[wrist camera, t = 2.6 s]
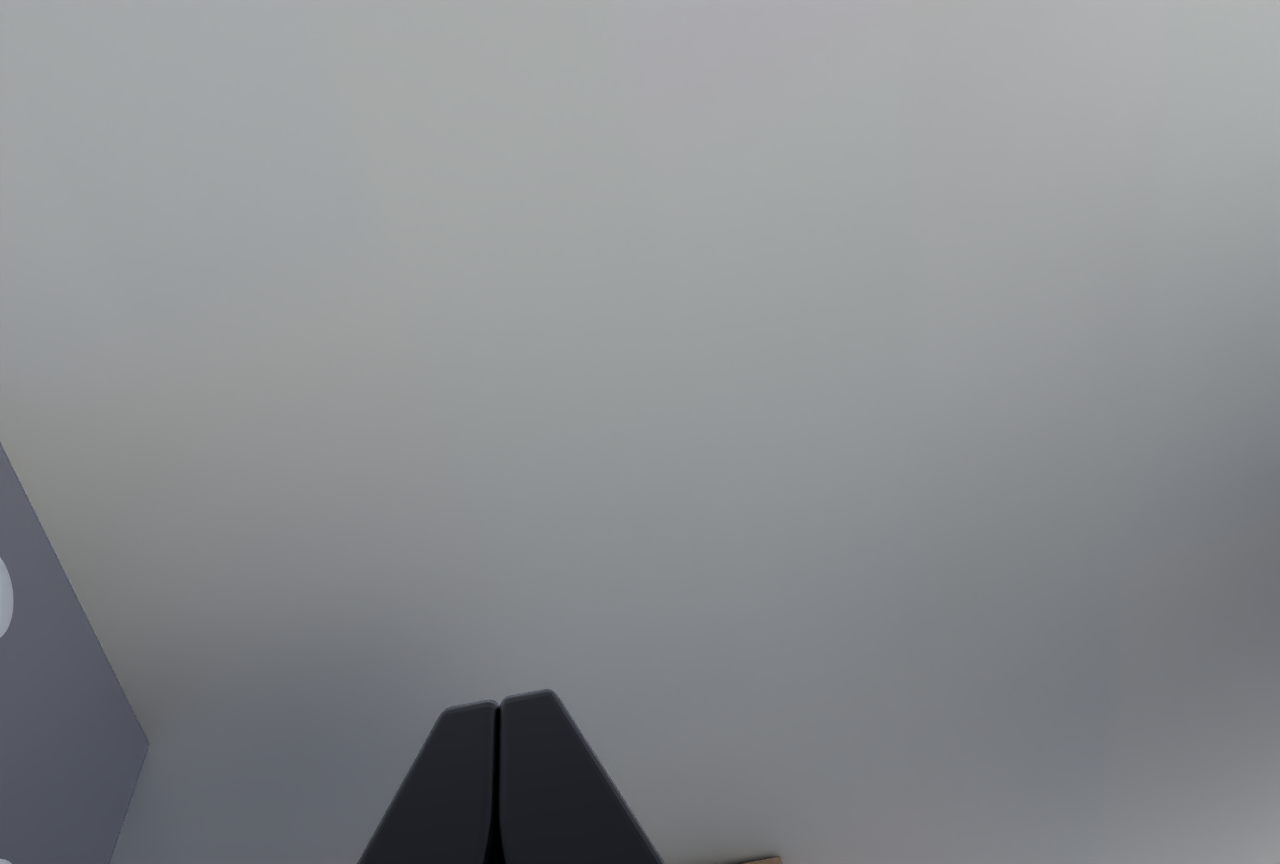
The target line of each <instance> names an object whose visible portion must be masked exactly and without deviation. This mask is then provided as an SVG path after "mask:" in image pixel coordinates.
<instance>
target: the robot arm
mask: <svg viewBox="0 0 1280 864" xmlns="http://www.w3.org/2000/svg"><path fill="white" fill-rule="evenodd" d="M357 864H665V863H664V861H663V860H662V858H661V857H660V855H659V854H658V852H657V850H656V849H655V847H654V846H653V844H652V843H651V841H650V840H649V838H648V836H647V835H646V833H645V832H644V830H643V829H642V827H641V825H640V824H639V822H638V821H637V819H636V818H635V816H634V814H633V813H632V811H631V810H630V808H629V807H628V805H627V803H626V802H625V800H624V799H623V797H622V796H621V794H620V792H619V791H618V789H617V788H616V786H615V785H614V783H613V781H612V780H611V778H610V777H609V775H608V774H607V772H606V770H605V769H604V767H603V766H602V764H601V763H600V761H599V759H598V758H597V756H596V755H595V753H594V752H593V750H592V748H591V747H590V745H589V744H588V742H587V741H586V739H585V737H584V736H583V734H582V733H581V731H580V730H579V728H578V726H577V725H576V723H575V722H574V720H573V719H572V717H571V715H570V714H569V712H568V711H567V709H566V708H565V706H564V704H563V703H562V701H561V700H560V698H559V697H558V695H557V694H556V693H555V692H554V691H552V690H549V689H544V690H539V691H533V692H528V693H522V694H517V695H511V696H508V697H505V698H504V699H503V700H502V702H501V705H499V704H498V703H497V702H496V701H493V700H484V701H479V702H474V703H468V704H463V705H458V706H452V707H449V708H447V709H446V710H444V711H443V712H442V713H441V715H440V716H439V718H438V720H437V721H436V723H435V725H434V727H433V729H432V730H431V732H430V734H429V736H428V738H427V739H426V741H425V743H424V745H423V747H422V748H421V750H420V752H419V754H418V755H417V757H416V759H415V761H414V763H413V764H412V766H411V768H410V770H409V772H408V773H407V775H406V777H405V779H404V781H403V782H402V784H401V786H400V788H399V790H398V791H397V793H396V795H395V797H394V799H393V800H392V802H391V804H390V806H389V808H388V809H387V811H386V813H385V815H384V817H383V818H382V820H381V822H380V824H379V826H378V827H377V829H376V831H375V833H374V835H373V836H372V838H371V840H370V842H369V844H368V845H367V847H366V849H365V851H364V853H363V854H362V856H361V858H360V860H359V861H358V863H357Z"/></svg>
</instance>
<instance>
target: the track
mask: <svg viewBox="0 0 1280 864" xmlns="http://www.w3.org/2000/svg"><path fill="white" fill-rule="evenodd" d="M742 864H782V861H781V858H780V856H779V857H774V858H769V859H763V860H758V861H753V862H748V863H742Z"/></svg>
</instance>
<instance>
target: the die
mask: <svg viewBox="0 0 1280 864" xmlns="http://www.w3.org/2000/svg"><path fill="white" fill-rule="evenodd" d="M148 747H149V742H148V740H147V738H146V736H145V734H144V732H143V730H142V728H141V726H140V724H139V722H138V720H137V718H136V716H135V714H134V712H133V710H132V708H131V706H130V704H129V702H128V700H127V698H126V696H125V694H124V692H123V690H122V688H121V686H120V684H119V682H118V680H117V678H116V676H115V674H114V672H113V670H112V668H111V666H110V663H109V661H108V659H107V657H106V655H105V653H104V651H103V649H102V647H101V645H100V643H99V641H98V639H97V637H96V635H95V633H94V631H93V629H92V627H91V625H90V623H89V621H88V619H87V617H86V615H85V613H84V611H83V609H82V607H81V605H80V603H79V601H78V599H77V597H76V595H75V593H74V591H73V589H72V587H71V585H70V583H69V581H68V578H67V576H66V574H65V572H64V570H63V568H62V566H61V564H60V562H59V560H58V558H57V556H56V554H55V552H54V550H53V548H52V546H51V544H50V542H49V540H48V538H47V536H46V534H45V532H44V530H43V528H42V526H41V524H40V522H39V520H38V518H37V516H36V514H35V512H34V510H33V508H32V506H31V504H30V502H29V500H28V498H27V495H26V493H25V491H24V489H23V487H22V485H21V483H20V481H19V479H18V477H17V475H16V473H15V471H14V469H13V467H12V465H11V463H10V461H9V459H8V457H7V455H6V453H5V451H4V449H3V447H2V445H1V443H0V864H109V863H110V860H111V857H112V854H113V851H114V848H115V845H116V842H117V839H118V836H119V833H120V830H121V827H122V824H123V821H124V818H125V815H126V812H127V809H128V806H129V803H130V800H131V797H132V794H133V791H134V788H135V785H136V782H137V779H138V776H139V773H140V770H141V767H142V764H143V761H144V758H145V756H146V753H147V750H148Z"/></svg>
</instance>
